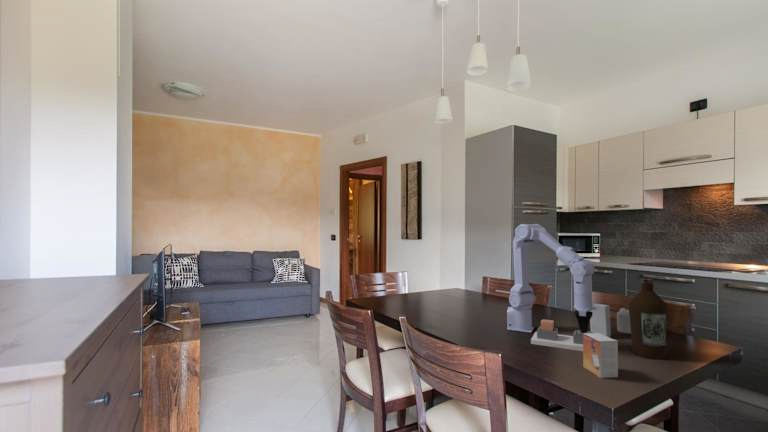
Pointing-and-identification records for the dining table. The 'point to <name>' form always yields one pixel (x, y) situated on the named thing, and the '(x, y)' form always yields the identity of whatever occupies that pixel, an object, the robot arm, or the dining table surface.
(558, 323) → the dining table surface
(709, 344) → the dining table surface
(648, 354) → the olive oil
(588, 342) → the small box
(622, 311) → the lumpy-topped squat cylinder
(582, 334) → the button grey
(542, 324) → the button terracotta
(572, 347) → the console
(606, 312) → the skincare box
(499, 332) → the dining table surface
